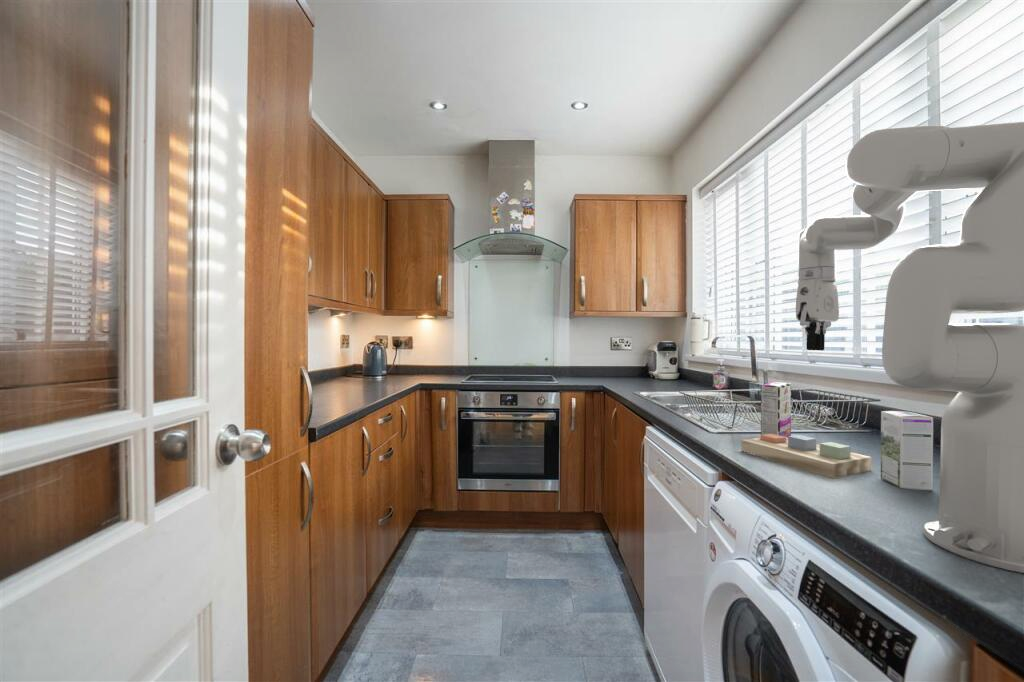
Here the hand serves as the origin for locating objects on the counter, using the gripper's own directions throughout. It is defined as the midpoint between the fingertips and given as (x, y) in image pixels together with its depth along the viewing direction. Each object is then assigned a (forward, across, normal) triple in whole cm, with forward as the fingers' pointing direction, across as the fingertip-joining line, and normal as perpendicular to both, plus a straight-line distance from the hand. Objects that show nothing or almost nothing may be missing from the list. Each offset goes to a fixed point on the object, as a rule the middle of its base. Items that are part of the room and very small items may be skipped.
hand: (815, 350), depth 99 cm
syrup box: (+27, -4, -19) cm, 33 cm away
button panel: (+27, -6, -1) cm, 27 cm away
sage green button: (+24, -6, -8) cm, 26 cm away
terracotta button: (+25, -6, +6) cm, 27 cm away
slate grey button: (+24, -6, -1) cm, 25 cm away
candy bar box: (+27, +7, +14) cm, 31 cm away
